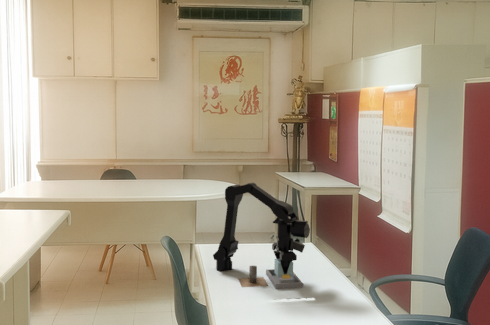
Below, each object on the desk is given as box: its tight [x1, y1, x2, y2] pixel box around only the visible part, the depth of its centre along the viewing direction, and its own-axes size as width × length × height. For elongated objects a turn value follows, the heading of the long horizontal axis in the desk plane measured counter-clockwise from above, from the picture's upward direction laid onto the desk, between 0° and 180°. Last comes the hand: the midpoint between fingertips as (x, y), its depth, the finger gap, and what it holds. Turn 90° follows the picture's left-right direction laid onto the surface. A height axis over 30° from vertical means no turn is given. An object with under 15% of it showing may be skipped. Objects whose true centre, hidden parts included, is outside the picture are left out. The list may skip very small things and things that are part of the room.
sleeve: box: [273, 258, 294, 279], centre depth 206 cm, size 8×6×6 cm
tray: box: [265, 268, 304, 290], centre depth 208 cm, size 11×19×3 cm, turn 9°
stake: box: [237, 265, 269, 288], centre depth 205 cm, size 11×11×8 cm
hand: (283, 271), depth 207 cm, fingers closed on sleeve, 6 cm apart
